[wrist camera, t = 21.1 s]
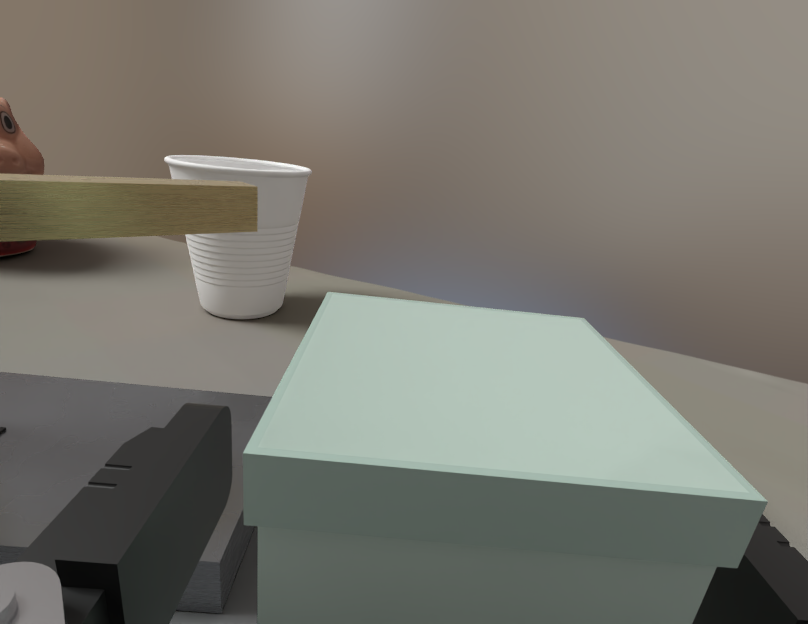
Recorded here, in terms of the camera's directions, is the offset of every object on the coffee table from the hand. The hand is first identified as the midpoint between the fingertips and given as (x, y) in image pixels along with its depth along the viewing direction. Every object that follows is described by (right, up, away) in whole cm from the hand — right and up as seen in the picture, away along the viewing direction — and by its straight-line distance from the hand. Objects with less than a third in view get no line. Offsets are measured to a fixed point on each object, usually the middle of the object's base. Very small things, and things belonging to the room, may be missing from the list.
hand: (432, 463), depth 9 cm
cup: (-13, +3, +28) cm, 32 cm away
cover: (-1, -8, +1) cm, 8 cm away
